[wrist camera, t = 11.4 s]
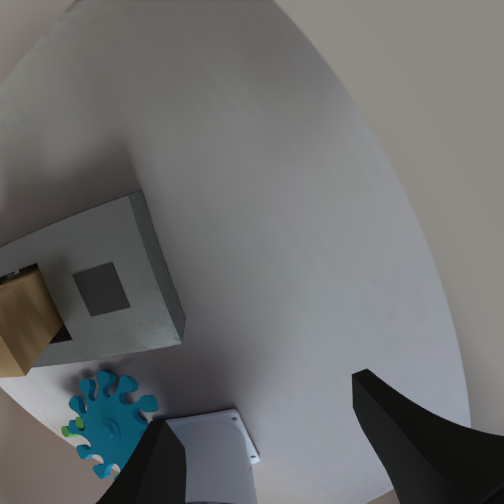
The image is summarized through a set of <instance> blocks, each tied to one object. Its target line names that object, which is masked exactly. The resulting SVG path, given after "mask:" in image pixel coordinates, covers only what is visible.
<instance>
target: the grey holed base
mask: <svg viewBox="0 0 504 504" xmlns="http://www.w3.org/2000/svg"><path fill="white" fill-rule="evenodd" d="M35 263H37V264H38V266H39V269H40V272H41V274H42V276H43V279H44V281H45V284H46V286H47V288H48V290H49V293H50V295H51V297H52V299H53V301H54V304H55V306H56V308H57V310H58V312H59V314H60V316H61V318H62V320H63V322H64V324H63V326H62V327H61V328H60V329H59V331H58V332H57V333H56V335H55V336H54V337H53V339H52V340H51V341H50V343H49V344H48V345H47V347H46V348H45V349H44V351H43V352H42V353H41V355H40V356H39V358H38V359H37V360H36V362H35V363H34V365H33V366H32V367H31V368H33V367H42V366H51V365H59V364H67V363H75V362H82V361H89V360H95V359H102V358H108V357H114V356H120V355H126V354H131V353H137V352H142V351H147V350H153V349H158V348H163V347H168V346H172V345H177V344H182V340H183V333H184V327H185V321H186V318H185V315H184V312H183V310H182V307H181V305H180V302H179V299H178V297H177V294H176V291H175V289H174V286H173V283H172V281H171V278H170V275H169V272H168V269H167V266H166V264H165V261H164V258H163V255H162V252H161V249H160V246H159V243H158V240H157V237H156V234H155V231H154V228H153V224H152V221H151V218H150V215H149V211H148V208H147V205H146V201H145V198H144V195H143V191H142V190H140V191H137V192H134V193H131V194H128V195H125V196H122V197H119V198H117V199H114V200H111V201H108V202H105V203H103V204H100V205H97V206H95V207H92V208H89V209H87V210H84V211H82V212H79V213H76V214H74V215H71V216H69V217H66V218H64V219H62V220H59V221H57V222H54V223H52V224H50V225H47V226H45V227H43V228H40V229H38V230H36V231H34V232H31V233H29V234H27V235H25V236H23V237H20V238H18V239H16V240H14V241H12V242H10V243H8V244H6V245H4V246H1V247H0V286H1V285H2V284H3V283H5V282H6V281H7V280H9V279H10V278H12V277H13V276H14V275H13V272H14V271H16V270H19V269H22V268H24V267H27V266H29V265H32V264H35Z"/></svg>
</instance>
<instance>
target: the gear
mask: <svg viewBox="0 0 504 504" xmlns="http://www.w3.org/2000/svg"><path fill="white" fill-rule="evenodd" d="M97 379H98V383H99V391H98V395H97V398H96V399H95V397H94V392H95V389H96V383H95V381H94V380H92V379H83V380H81V381H80V382H79V387H80V389H81V391H82V392H83V394H84V396H85V399H86V403H87V411H86V409H85V403H84V400H83V398H82V397H80V396H73V397H72V398H71V400H70V402H69V406H70V408H71V409H72V410H74V411H75V412H77V413H78V414H79V416H80V417H76V419H75V420H70V421H69V426H63V427H62V434H63V435H64V436H65V437H74V436H78V434H79V435H82V436H83V437H85V438H86V439H87V440H88V441H89V442H90V444H91V447H89V446H88V445H86V444H84V445H78V446H77V451H78V454H79V456H80V458H81V459H87V458H91V457H92V455H94V454H97V455H100V456H101V457H102V459H103V461H104V463H103V464H98V465H95V466H93V471H94V472H95V474H96V475H97V476H98V477H99V478H100V479H103V478H107V477H109V476H110V471H111V467H112V466H113V465H114V464H117V465H118V466H119V468H120V472H121V470H122V469H123V468H124V466H125V464H126V463H127V461H128V459H129V458H130V456H131V454H132V453H133V451H134V449H135V448H136V446H137V444H138V442H139V441H140V439H141V437H142V435H143V434H144V432H145V430H146V428H147V427H148V425H149V423H148V422H147V421H143V420H142V419H141V418H140V417H139V415H138V412H139V410H140V409H141V410H143V411H144V412H155V411H157V410H158V409H159V408H158V403H157V401H156V399H155V397H154V395H144V396H142V397H141V398H140V400H139V401H138V402H136V403H134V404H128V403H127V402H126V401H125V394H126V393H127V392H134V391H136V390H137V389H138V386H139V385H138V383H137V382H136V380H134V379H133V378H132V377H131V376H128V375H123V376H122V377H121V378H120V380H119V386H118V388H117V390H116V392H115V393H114V394H113V395H112V396H110V395H109V392H108V390H109V387H110V386H111V385H113V384H114V382H115V375H114V374H113V373H110V372H104V371H98V374H97ZM118 475H119V474H118ZM118 475H116V476H115V478H114V480H115V479H116V478H117V476H118Z"/></svg>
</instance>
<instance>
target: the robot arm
mask: <svg viewBox="0 0 504 504" xmlns="http://www.w3.org/2000/svg"><path fill="white" fill-rule="evenodd" d="M352 392H353V409H354V411H355V414H356V416H357V418H358V421H359V423H360V425H361V428H362V430H363V431H364V433H365V435H366V437H367V438H368V440H369V442H370V443H371V445H372V447H373V449H374V450H375V452H376V454H377V455H378V457H379V459H380V460H381V462H382V464H383V466H384V467H385V469H386V471H387V473H388V475H389V477H390V479H391V482H392V484H393V487H394V489H395V491H396V494H397V496H398V499H399V502H400V504H504V436H500V435H494V434H489V433H485V432H481V431H478V430H474V429H471V428H467V427H464V426H461V425H458V424H456V423H453V422H451V421H448V420H446V419H444V418H442V417H440V416H437V415H435V414H433V413H432V412H430V411H428V410H426V409H424V408H422V407H421V406H419V405H417V404H416V403H414V402H412V401H411V400H409V399H408V398H406V397H405V396H403V395H402V394H400V393H399V392H397V391H396V390H395V389H393V388H392V387H390V386H389V385H388V384H386V383H385V382H384V381H382V380H381V379H380V378H379V377H377V376H376V375H375V374H374V373H372V372H371V371H370V370H368V369H364V370H362V371H359V372H357V373H354V374H352ZM233 417H235V418H233ZM258 462H260V457H259V455H258V453H257V451H256V449H255V447H254V445H253V443H252V440H251V438H250V436H249V434H248V432H247V430H246V428H245V425H244V423H243V421H242V419H241V417H240V414H239V412H238V411H237V410H235V409H230V410H225V411H220V412H214V413H209V414H203V415H197V416H190V417H184V418H176V419H169V420H165V419H164V420H155V421H151V422H150V423H149V425H148V427H147V428H146V430H145V432H144V434H143V435H142V437H141V439H140V441H139V442H138V444H137V446H136V448H135V449H134V451H133V453H132V454H131V456H130V458H129V459H128V461H127V463H126V464H125V466H124V468H123V469H122V470H121V472H120V473H119V475H118V476H117V478H116V479H115V481H114V482H113V484H112V485H111V486H110V488H109V489H108V490H107V491H106V493H105V494H104V495H103V496H102V497H101V498H100V500H99V501H98V502H97V503H96V504H257V498H256V491H255V485H254V478H253V472H252V465H251V464H254V463H258Z"/></svg>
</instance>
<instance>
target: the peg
mask: <svg viewBox="0 0 504 504" xmlns="http://www.w3.org/2000/svg"><path fill="white" fill-rule="evenodd" d="M63 324H64V322H63V320H62V318H61V316H60V314H59V312H58V310H57V308H56V306H55V304H54V301H53V299H52V297H51V295H50V293H49V290H48V288H47V286H46V284H45V281H44V279H43V276H42V274H41V272H40V269H39V266H38V265H36V266H33V267H31V268H28V269H26V270H23V271H20V272H19V273H17V274H16V275H14V276H13V277H12V278H10V279H9V280H7V281H6V282H5V283H3V284H2V285H1V286H0V378H3V377H19V376H26V375H27V373H28V372H29V370H30V369H31V367H32V366H33V365H34V363H35V362H36V360H37V359H38V358H39V356H40V355H41V353H42V352H43V351H44V349H45V348H46V347H47V345H48V344H49V343H50V341H51V340H52V339H53V337H54V336H55V335H56V333H57V332H58V331H59V329H60V328H61V327H62V326H63Z"/></svg>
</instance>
